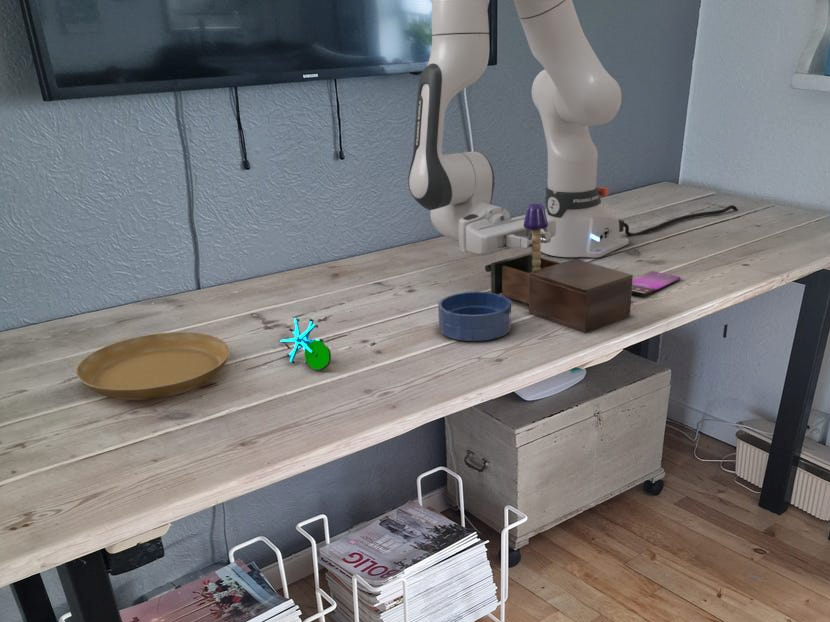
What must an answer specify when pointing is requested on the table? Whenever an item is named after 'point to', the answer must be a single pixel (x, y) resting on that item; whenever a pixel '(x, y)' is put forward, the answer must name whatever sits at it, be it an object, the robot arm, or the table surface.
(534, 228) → the toy lamp
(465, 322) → the bowl
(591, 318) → the cabinet
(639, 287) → the smartphone
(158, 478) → the table surface
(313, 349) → the stick construction toy
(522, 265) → the drawer
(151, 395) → the plant saucer
